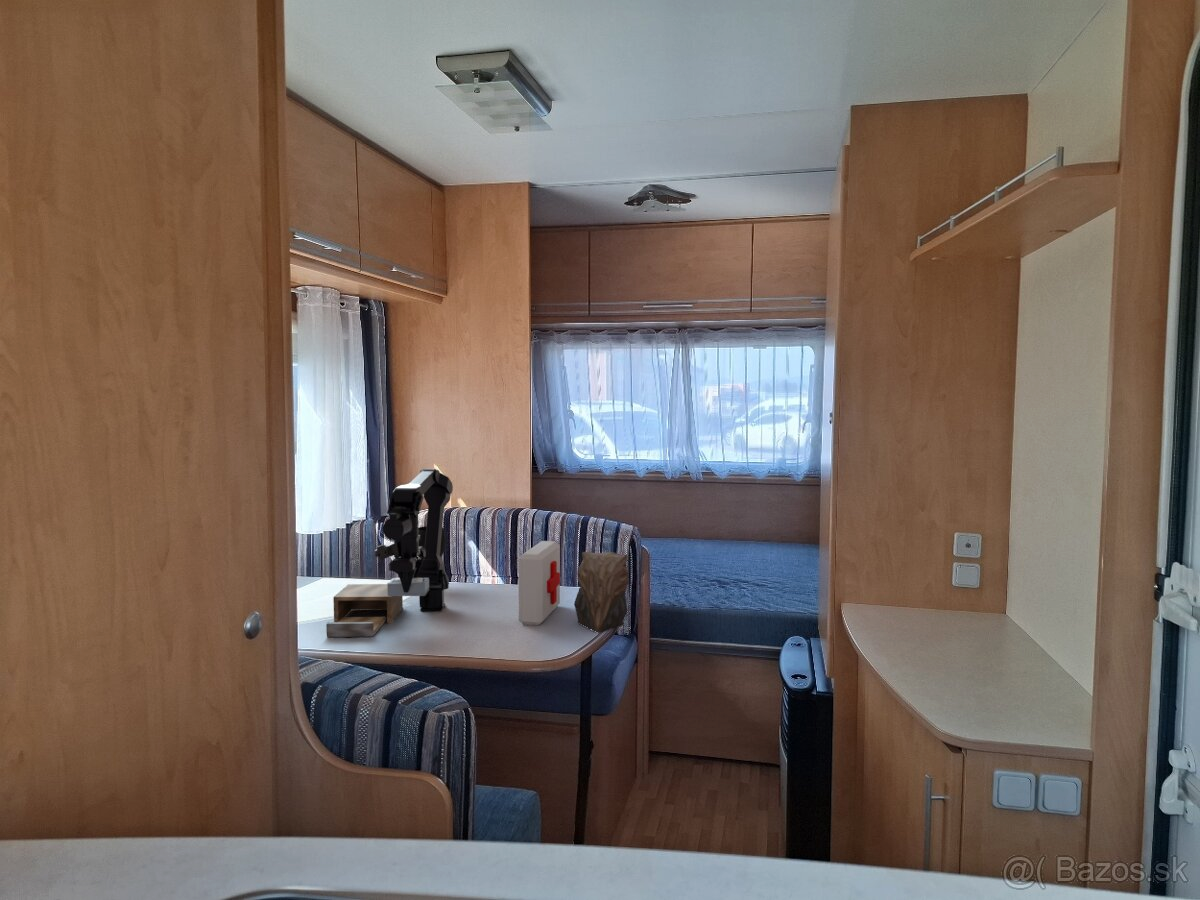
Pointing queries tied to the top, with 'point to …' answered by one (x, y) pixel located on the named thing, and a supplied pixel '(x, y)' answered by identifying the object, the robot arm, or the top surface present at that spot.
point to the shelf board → (354, 626)
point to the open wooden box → (366, 600)
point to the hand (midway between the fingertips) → (408, 589)
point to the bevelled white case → (539, 582)
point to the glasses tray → (416, 589)
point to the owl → (602, 590)
